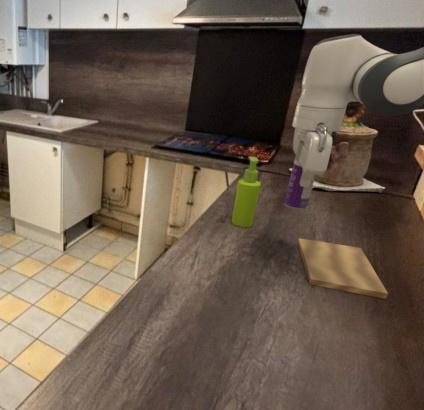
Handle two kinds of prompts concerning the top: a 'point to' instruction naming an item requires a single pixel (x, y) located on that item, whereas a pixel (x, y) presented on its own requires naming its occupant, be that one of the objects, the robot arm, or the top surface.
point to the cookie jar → (349, 155)
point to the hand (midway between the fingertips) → (301, 181)
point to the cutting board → (340, 268)
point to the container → (298, 186)
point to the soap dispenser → (246, 196)
